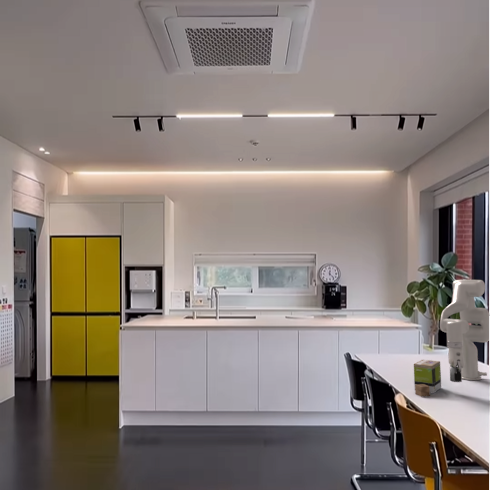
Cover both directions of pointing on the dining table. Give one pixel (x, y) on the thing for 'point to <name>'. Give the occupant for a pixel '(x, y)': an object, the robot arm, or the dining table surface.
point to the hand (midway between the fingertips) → (455, 378)
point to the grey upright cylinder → (452, 371)
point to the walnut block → (422, 390)
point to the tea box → (428, 374)
